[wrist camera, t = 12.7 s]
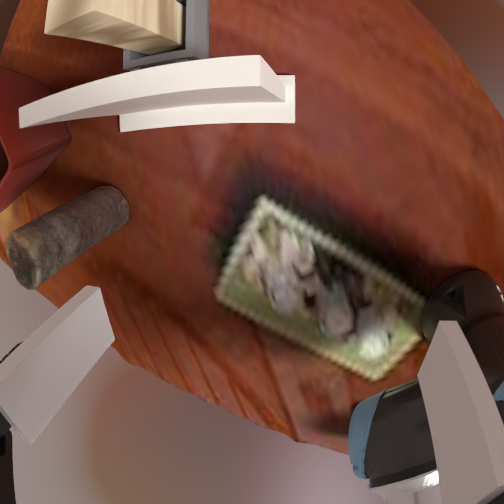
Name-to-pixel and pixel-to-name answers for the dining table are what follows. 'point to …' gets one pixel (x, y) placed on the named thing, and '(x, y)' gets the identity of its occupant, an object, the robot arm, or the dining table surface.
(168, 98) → the cup bracket
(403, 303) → the dining table surface
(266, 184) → the dining table surface
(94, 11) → the rail
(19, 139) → the plant pot
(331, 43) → the dining table surface
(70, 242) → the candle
